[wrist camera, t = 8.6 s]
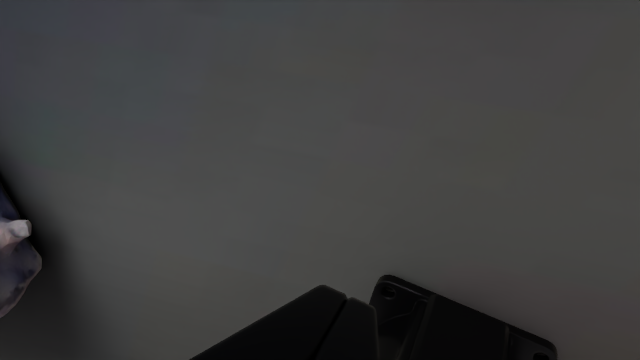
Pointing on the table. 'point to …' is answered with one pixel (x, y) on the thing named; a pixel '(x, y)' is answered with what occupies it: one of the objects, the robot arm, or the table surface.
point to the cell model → (15, 255)
